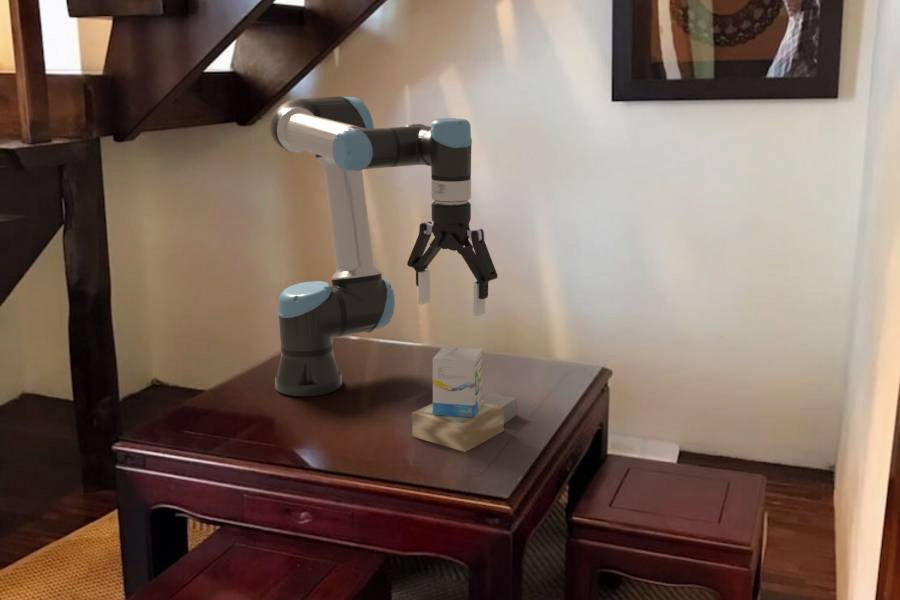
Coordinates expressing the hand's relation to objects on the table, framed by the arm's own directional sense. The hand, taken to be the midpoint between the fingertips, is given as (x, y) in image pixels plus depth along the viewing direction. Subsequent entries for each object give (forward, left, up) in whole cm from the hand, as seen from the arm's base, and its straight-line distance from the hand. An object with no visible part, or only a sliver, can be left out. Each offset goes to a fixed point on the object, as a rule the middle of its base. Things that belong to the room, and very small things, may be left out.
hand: (451, 308), depth 195 cm
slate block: (+4, +10, -25) cm, 28 cm away
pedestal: (+3, -2, -25) cm, 25 cm away
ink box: (+3, -2, -20) cm, 20 cm away
